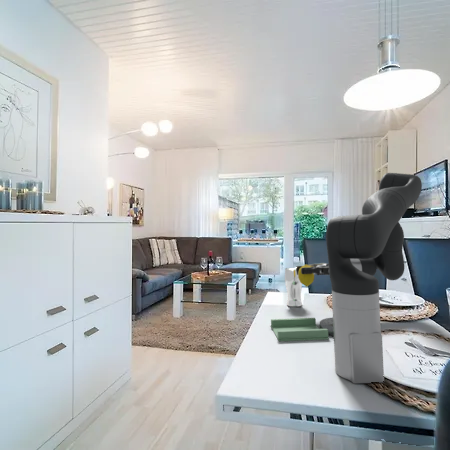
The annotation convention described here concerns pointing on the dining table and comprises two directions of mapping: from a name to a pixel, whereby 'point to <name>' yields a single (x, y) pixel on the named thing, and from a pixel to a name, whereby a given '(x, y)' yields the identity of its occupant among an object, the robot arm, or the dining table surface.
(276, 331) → the side chute
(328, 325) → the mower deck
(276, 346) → the dining table surface
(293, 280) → the beer glass
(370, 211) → the robot arm
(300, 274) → the lemon
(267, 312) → the dining table surface
